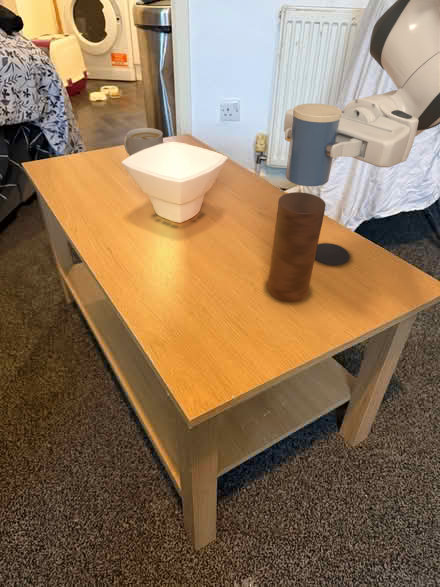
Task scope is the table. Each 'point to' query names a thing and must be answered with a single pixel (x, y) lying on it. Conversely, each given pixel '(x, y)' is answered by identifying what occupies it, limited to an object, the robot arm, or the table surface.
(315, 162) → the tumbler
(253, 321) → the table surface
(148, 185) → the bowl
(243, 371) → the table surface
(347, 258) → the coaster
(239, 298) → the table surface
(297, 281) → the stand
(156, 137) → the coffee mug
